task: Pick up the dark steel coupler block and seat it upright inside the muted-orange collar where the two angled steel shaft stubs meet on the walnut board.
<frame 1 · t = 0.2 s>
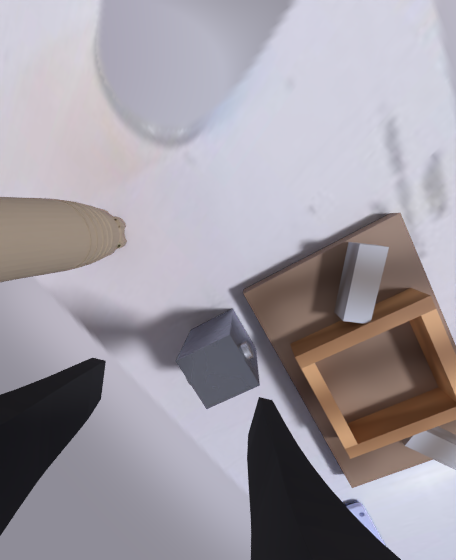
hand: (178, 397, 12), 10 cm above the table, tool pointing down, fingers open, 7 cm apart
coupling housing: (365, 360, 21), on the table
coupler block: (223, 339, 21), on the table
handle: (110, 232, 20), on the table
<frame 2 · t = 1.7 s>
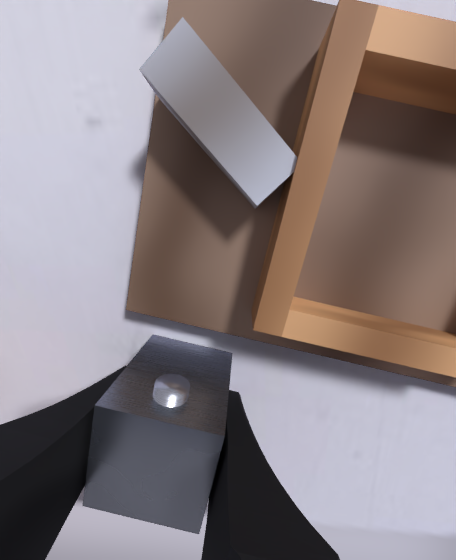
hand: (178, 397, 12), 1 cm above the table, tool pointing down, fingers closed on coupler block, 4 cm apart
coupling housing: (387, 222, 11), on the table
coupler block: (185, 379, 13), on the table, touching gripper
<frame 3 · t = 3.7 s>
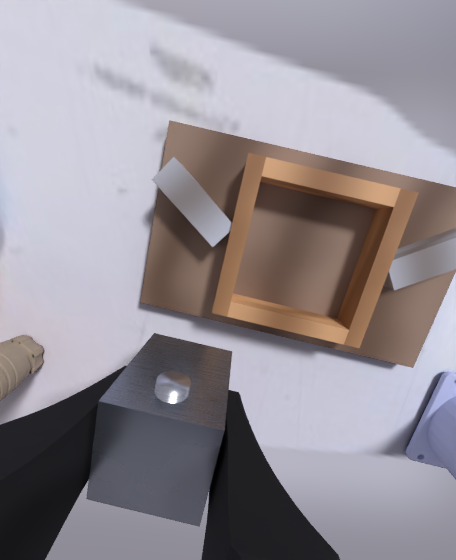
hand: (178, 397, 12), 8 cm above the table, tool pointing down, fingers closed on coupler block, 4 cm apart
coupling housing: (296, 251, 18), on the table
coupler block: (185, 376, 13), point 7 cm above the table, touching gripper
handle: (30, 350, 21), on the table
when the fingers open (4 cm above the table, at t = 5.6 s): coupler block stays where it is, resting on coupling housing.
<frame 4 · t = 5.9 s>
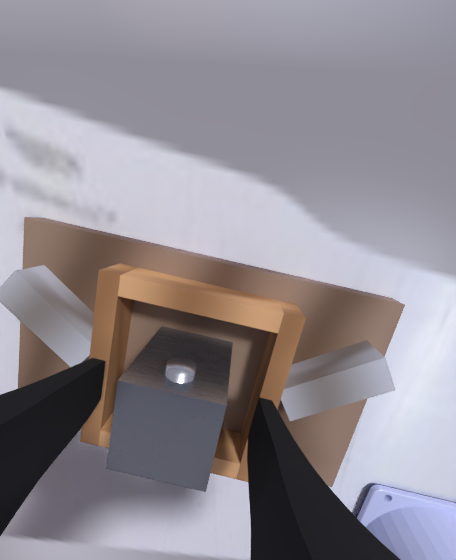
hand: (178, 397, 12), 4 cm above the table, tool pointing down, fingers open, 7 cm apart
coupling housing: (195, 352, 16), on the table
coupler block: (190, 366, 14), point 1 cm above the table, touching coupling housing
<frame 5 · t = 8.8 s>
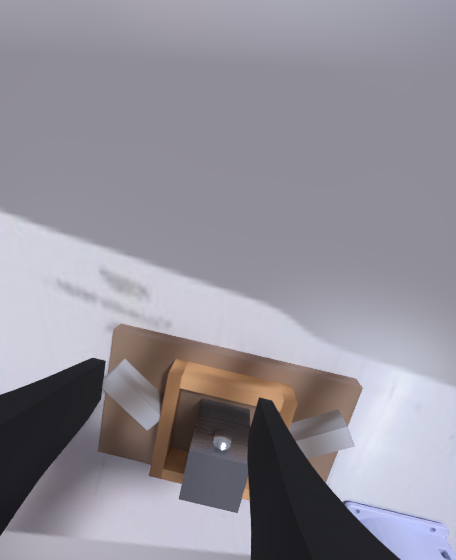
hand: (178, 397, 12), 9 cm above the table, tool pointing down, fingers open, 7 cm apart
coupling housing: (222, 411, 22), on the table
coupler block: (220, 423, 21), point 1 cm above the table, touching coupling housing
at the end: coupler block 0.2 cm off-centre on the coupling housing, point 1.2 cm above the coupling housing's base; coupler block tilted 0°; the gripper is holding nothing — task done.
